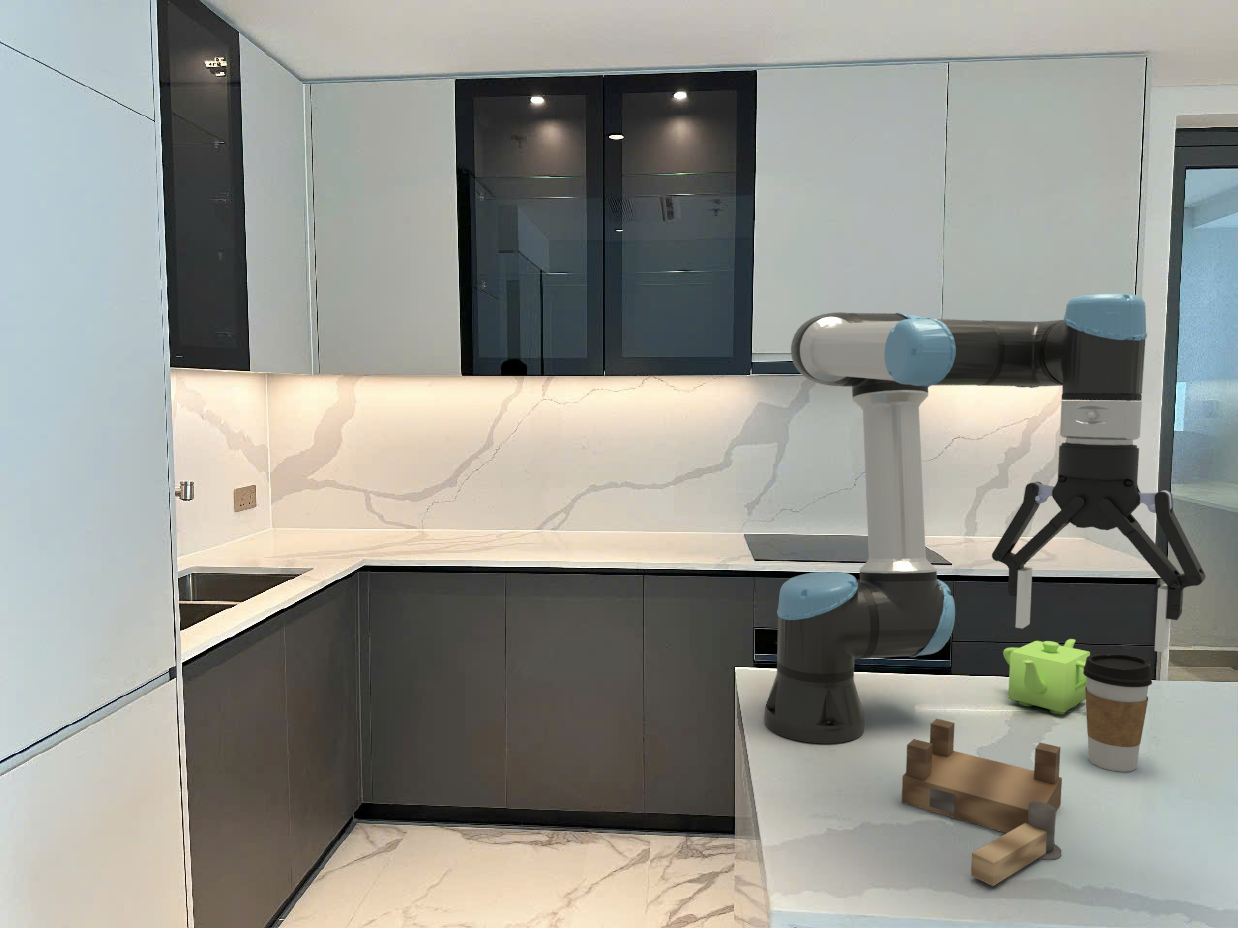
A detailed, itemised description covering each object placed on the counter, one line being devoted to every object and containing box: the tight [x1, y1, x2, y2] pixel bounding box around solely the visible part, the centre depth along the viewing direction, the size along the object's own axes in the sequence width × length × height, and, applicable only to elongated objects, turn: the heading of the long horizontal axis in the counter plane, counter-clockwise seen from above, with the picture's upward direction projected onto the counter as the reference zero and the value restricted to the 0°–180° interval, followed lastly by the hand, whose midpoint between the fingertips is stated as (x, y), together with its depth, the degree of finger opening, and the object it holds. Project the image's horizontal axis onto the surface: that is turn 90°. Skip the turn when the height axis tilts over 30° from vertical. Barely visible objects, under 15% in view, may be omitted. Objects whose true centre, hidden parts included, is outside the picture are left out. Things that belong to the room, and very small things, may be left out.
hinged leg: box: [970, 801, 1057, 887], centre depth 97 cm, size 14×3×4 cm, turn 128°
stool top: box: [901, 718, 1063, 861], centre depth 109 cm, size 19×16×8 cm
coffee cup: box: [1083, 653, 1153, 773], centre depth 124 cm, size 8×8×15 cm
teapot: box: [1002, 638, 1091, 715], centre depth 147 cm, size 15×13×11 cm
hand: (1088, 637), depth 96 cm, fingers open, 13 cm apart
